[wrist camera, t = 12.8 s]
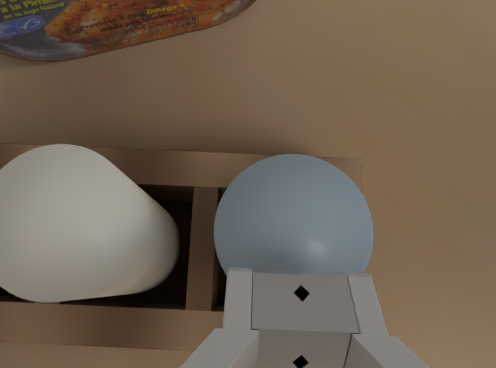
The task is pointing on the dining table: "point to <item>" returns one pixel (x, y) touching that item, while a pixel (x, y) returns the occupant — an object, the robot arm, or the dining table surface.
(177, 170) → the three candle holder
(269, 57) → the dining table surface
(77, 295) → the white pillar candle
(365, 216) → the blue grey capsule
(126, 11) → the tin
